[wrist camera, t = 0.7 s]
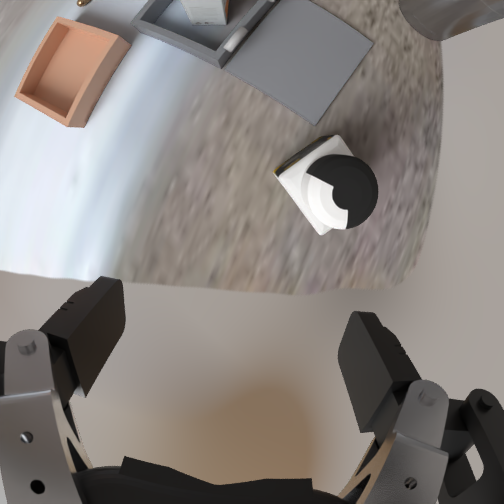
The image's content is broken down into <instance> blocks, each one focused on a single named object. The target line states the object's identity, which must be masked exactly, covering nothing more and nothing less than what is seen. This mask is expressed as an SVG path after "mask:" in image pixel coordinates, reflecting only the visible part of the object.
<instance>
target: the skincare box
mask: <svg viewBox="0 0 504 504" xmlns="http://www.w3.org/2000/svg"><path fill="white" fill-rule="evenodd" d="M180 1H181V3H182V5H183V7H184V9H185V11H186V13H187V15H188V18H189V20H190V22H191V24H192V25H226V24H227V16H228V6H229V0H180Z"/></svg>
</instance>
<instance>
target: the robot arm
mask: <svg viewBox="0 0 504 504" xmlns="http://www.w3.org/2000/svg"><path fill="white" fill-rule="evenodd" d="M399 6H400V9H401V11H402V13H403V15H404V17H405V18H406V20H407V21H408V22H409V23H410V25H411V26H412V27H413V28H414V29H415V30H417V31H418V32H419V33H420V34H422V35H424V36H425V37H427V38H429V39H432V40H436V41H443V40H446V39H448V38H450V37H453V36H455V35H458V34H461V33H463V32H466V31H468V30H471V29H474V28H476V27H479V26H482V25H484V24H487V23H490V22H493V21H496V20H499V19H502V18H504V0H399ZM125 321H126V317H125V306H124V294H123V284H122V281H121V280H120V279H114V278H109V277H104V276H100V277H99V278H98V279H97V280H96V281H95V282H94V283H93V284H92V285H91V286H90V287H89V288H88V287H86V288H84V289H81V290H79V291H77V292H75V293H74V294H73V295H72V296H71V297H70V298H69V299H68V300H67V302H65V303H64V304H63V305H62V306H61V307H60V309H58V310H57V311H56V312H55V313H54V314H53V315H52V316H51V318H50V319H48V321H47V322H46V323H45V324H44V325H43V326H42V327H41V328H40V329H39V330H33V329H28V330H23V331H20V332H17V333H16V334H14V335H13V336H11V338H9V340H8V341H7V342H4V341H0V468H1V474H2V480H3V485H4V490H5V494H6V498H7V503H8V504H436V501H437V498H438V501H439V504H504V410H503V409H502V407H501V405H500V403H499V401H498V400H497V399H496V397H495V396H494V395H493V394H491V393H490V392H488V391H486V390H483V389H474V390H473V391H471V392H470V394H469V395H468V397H467V398H466V400H465V401H463V400H455V399H449V398H448V395H447V394H446V392H445V391H444V389H442V387H440V386H439V385H437V384H436V383H434V382H432V381H429V380H422V379H421V377H420V375H419V374H418V372H417V370H416V369H415V367H414V365H413V363H412V362H411V360H410V358H409V357H408V355H406V352H405V350H404V349H403V347H401V344H400V342H399V340H398V339H397V337H396V336H395V335H394V334H393V333H392V332H391V331H390V330H388V329H387V328H386V327H383V326H382V324H381V322H380V321H379V319H378V317H377V316H376V314H375V313H373V312H360V311H354V312H353V313H352V314H351V316H350V318H349V321H348V324H347V327H346V329H345V332H344V335H343V338H342V341H341V343H340V346H339V350H338V362H339V366H340V369H341V372H342V375H343V378H344V381H345V384H346V387H347V390H348V393H349V397H350V400H351V403H352V406H353V410H354V413H355V416H356V420H357V423H358V426H359V430H360V433H365V432H374V434H375V437H374V439H373V440H372V442H371V443H370V445H369V447H368V449H367V451H366V453H365V455H364V456H363V458H362V460H361V462H360V463H359V465H358V467H357V469H356V470H355V472H354V474H353V475H352V477H351V479H350V480H349V482H348V483H347V485H346V486H345V487H344V489H343V490H342V491H341V492H340V493H339V495H338V496H335V495H332V494H330V493H327V492H323V491H320V490H315V489H313V487H312V479H311V478H307V479H262V480H256V481H249V482H242V483H234V484H225V485H214V484H211V483H208V482H205V481H202V480H200V479H197V478H194V477H192V476H189V475H187V474H184V473H182V472H179V471H177V470H174V469H172V468H170V467H166V466H161V465H157V464H153V463H148V462H145V461H141V460H137V459H133V458H129V457H126V456H124V459H123V462H122V465H121V466H104V467H96V468H93V466H92V464H91V462H90V460H89V458H88V456H87V454H86V451H85V449H84V445H83V443H82V439H81V436H80V433H79V430H78V427H77V424H76V420H75V416H74V413H73V409H72V405H71V403H70V398H71V397H72V395H73V394H76V395H79V396H82V397H84V398H86V396H87V394H88V392H89V391H90V389H91V387H92V385H93V384H94V382H95V380H96V378H97V376H98V375H99V373H100V371H101V369H102V368H103V366H104V364H105V363H106V361H107V359H108V357H109V356H110V354H111V352H112V351H113V349H114V347H115V345H116V344H117V342H118V341H119V339H120V337H121V336H122V333H123V332H124V328H125ZM474 444H475V446H476V448H477V451H478V453H479V455H480V457H481V460H482V462H483V465H484V470H483V474H482V476H481V477H480V479H479V480H477V481H476V479H475V476H474V474H473V471H472V469H471V467H470V464H469V461H468V459H467V456H466V454H465V453H466V452H467V451H468V450H469V449H470V448H471V447H472V446H473V445H474Z"/></svg>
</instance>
